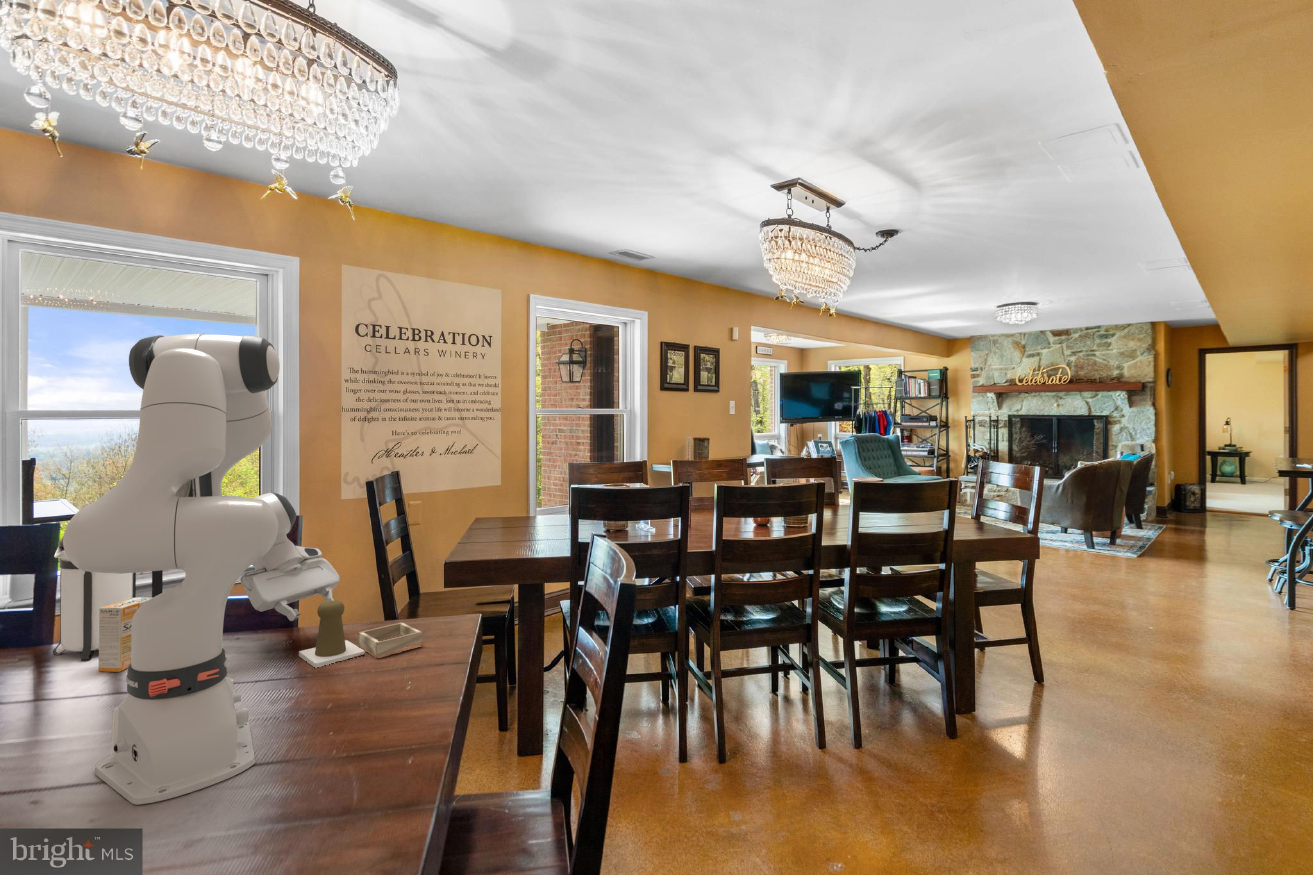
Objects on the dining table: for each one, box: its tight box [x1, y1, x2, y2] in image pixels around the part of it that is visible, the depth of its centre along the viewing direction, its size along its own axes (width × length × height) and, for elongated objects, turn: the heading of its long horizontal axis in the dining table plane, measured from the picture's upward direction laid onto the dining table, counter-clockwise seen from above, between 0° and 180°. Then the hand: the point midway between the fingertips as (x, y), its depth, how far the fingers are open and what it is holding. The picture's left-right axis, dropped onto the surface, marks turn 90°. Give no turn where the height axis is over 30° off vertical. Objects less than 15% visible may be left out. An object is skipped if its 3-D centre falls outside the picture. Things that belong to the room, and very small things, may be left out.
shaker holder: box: [357, 622, 423, 656], centre depth 138 cm, size 10×10×4 cm
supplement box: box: [98, 596, 152, 673], centre depth 126 cm, size 8×5×13 cm, turn 179°
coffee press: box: [52, 536, 164, 662], centre depth 135 cm, size 17×16×30 cm
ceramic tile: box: [298, 639, 366, 669], centre depth 132 cm, size 10×10×1 cm
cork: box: [315, 599, 346, 657], centre depth 132 cm, size 6×6×11 cm
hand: (314, 612), depth 134 cm, fingers open, 8 cm apart
